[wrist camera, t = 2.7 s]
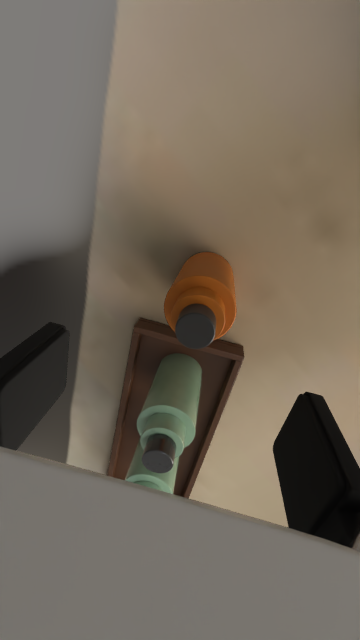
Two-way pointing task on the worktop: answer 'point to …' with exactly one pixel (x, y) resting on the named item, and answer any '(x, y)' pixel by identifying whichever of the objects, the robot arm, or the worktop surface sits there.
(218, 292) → the amber bottle
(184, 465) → the tray
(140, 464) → the green bottle
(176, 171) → the worktop surface
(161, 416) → the green bottle
